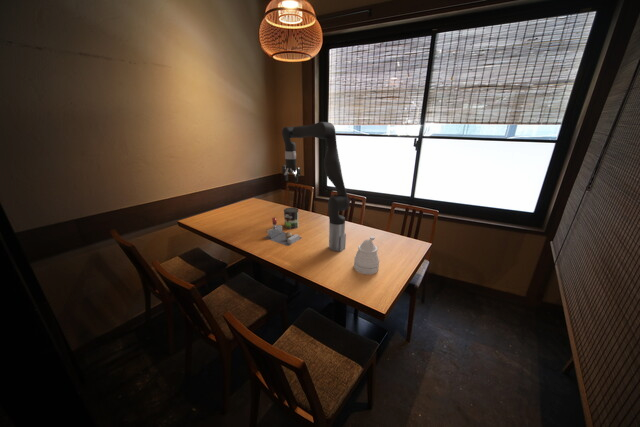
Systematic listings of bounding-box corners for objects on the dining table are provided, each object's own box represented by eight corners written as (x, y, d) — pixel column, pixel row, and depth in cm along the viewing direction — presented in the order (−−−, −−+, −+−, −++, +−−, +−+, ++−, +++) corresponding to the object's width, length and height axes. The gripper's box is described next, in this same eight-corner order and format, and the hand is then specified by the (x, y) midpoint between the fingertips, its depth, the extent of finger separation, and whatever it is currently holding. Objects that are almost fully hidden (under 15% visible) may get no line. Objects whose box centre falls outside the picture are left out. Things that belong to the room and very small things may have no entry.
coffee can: (293, 232, 174) (293, 213, 169) (281, 229, 178) (280, 210, 173) (301, 226, 182) (301, 208, 178) (290, 224, 187) (289, 206, 182)
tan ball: (293, 237, 159) (293, 231, 158) (289, 239, 156) (288, 234, 155) (288, 236, 162) (288, 230, 160) (284, 238, 158) (284, 232, 157)
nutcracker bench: (302, 239, 163) (302, 233, 161) (288, 248, 152) (288, 241, 150) (278, 232, 173) (278, 226, 172) (263, 239, 162) (263, 233, 161)
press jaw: (282, 232, 169) (281, 216, 165) (271, 238, 160) (269, 221, 156) (279, 231, 170) (278, 215, 166) (267, 237, 162) (266, 220, 158)
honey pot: (375, 260, 138) (377, 231, 132) (381, 274, 126) (384, 242, 120) (352, 261, 138) (353, 231, 132) (356, 274, 126) (358, 243, 120)
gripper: (302, 158, 168) (302, 181, 174) (286, 156, 175) (287, 179, 181) (295, 159, 162) (296, 183, 168) (279, 157, 169) (280, 181, 175)
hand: (291, 181), depth 174 cm, fingers open, 8 cm apart
